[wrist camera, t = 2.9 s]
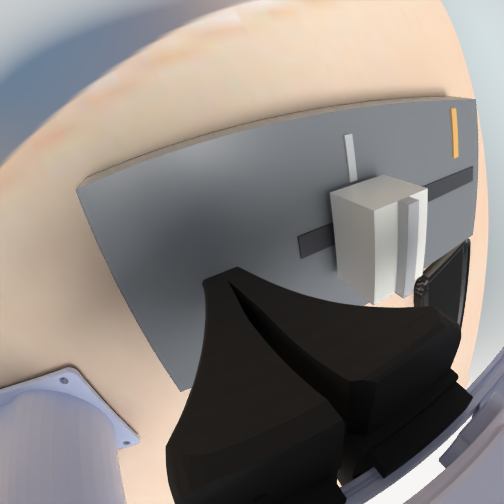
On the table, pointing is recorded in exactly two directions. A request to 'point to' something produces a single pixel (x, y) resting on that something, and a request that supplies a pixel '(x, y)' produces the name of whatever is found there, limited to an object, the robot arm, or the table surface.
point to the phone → (446, 283)
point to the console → (270, 206)
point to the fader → (380, 236)
